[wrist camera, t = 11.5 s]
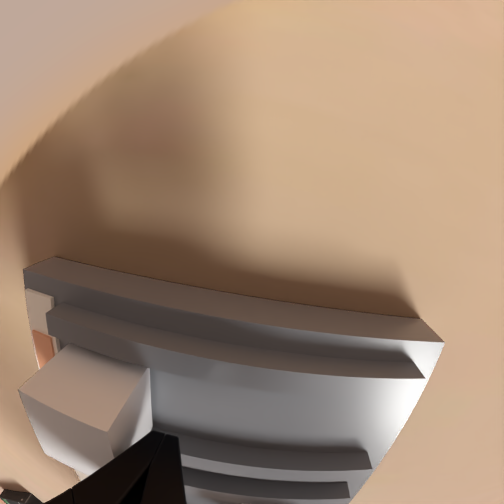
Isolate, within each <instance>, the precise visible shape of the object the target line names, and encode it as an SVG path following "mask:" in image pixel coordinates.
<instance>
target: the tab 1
mask: <svg viewBox="0 0 504 504" xmlns="http://www.w3.org/2000/svg"><path fill="white" fill-rule="evenodd" d="M18 392H19V394H20V397H21V400H22V403H23V405H24V408H25V410H26V413H27V415H28V418H29V420H30V423H31V425H32V427H33V430H34V432H35V434H36V436H37V438H38V441H39V443H40V445H41V447H42V449H43V451H44V453H45V454H46V455H48V456H50V457H52V458H54V459H56V460H58V461H59V462H61V463H63V464H65V465H67V466H69V467H71V468H73V469H75V470H78V471H80V472H82V473H84V474H86V475H91V474H92V473H94V472H95V471H97V470H98V469H100V468H101V467H103V466H104V465H105V464H107V463H108V462H110V461H111V460H113V459H114V458H115V457H117V456H118V455H120V454H121V453H122V452H124V451H125V450H126V449H128V448H129V447H130V446H132V445H133V444H135V443H136V442H137V441H139V440H140V439H141V438H143V437H144V436H145V435H146V434H148V433H149V432H150V431H151V429H152V426H153V424H152V409H151V390H150V368H147V367H143V366H139V365H136V364H132V363H129V362H125V361H122V360H119V359H115V358H112V357H109V356H106V355H103V354H100V353H97V352H94V351H91V350H88V349H85V348H82V347H80V346H77V345H74V344H71V343H69V344H68V345H66V346H65V347H64V348H63V349H62V350H61V351H60V352H58V353H57V354H56V355H55V356H54V357H53V358H52V359H51V360H49V361H48V362H47V363H46V364H45V365H44V366H43V367H42V368H41V369H39V370H38V371H37V372H36V373H35V374H34V375H33V376H32V377H31V378H30V379H28V380H27V381H26V382H25V383H24V384H23V385H22V386H21V387H20V388H19V389H18Z"/></svg>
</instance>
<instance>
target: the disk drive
mask: <svg viewBox="0 0 504 504" xmlns="http://www.w3.org/2000/svg"><path fill="white" fill-rule="evenodd" d="M0 498H1V499H2V500H3V501H4V502H5V503H6V504H43V503H42V502H41V501H40V500H39V499H37V498H36V497H35V496H34V495H33V494H31V493H27V492H17V491H11V490H5V489H4V491H3V492H2V493H1V495H0Z"/></svg>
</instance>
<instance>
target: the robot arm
mask: <svg viewBox="0 0 504 504" xmlns="http://www.w3.org/2000/svg"><path fill="white" fill-rule="evenodd" d="M43 504H187V501H186V494H185V486H184V478H183V470H182V460H181V450H180V440H179V437H178V436H176V435H172V434H168V433H167V434H166V433H164V432H161V431H157V430H152V431H150V432H149V433H148V434H146V435H145V436H144V437H143V438H141V439H140V440H139V441H137V442H136V443H135V444H133V445H132V446H130V447H129V448H128V449H126V450H125V451H124V452H122V453H121V454H120V455H118V456H117V457H115V458H114V459H113V460H111V461H110V462H108V463H107V464H105V465H104V466H103V467H101V468H100V469H98V470H97V471H95V472H94V473H92V474H91V475H89V476H88V477H86V478H85V479H83V480H82V481H80V482H79V483H77V484H76V485H74V486H73V487H72V489H71V488H69V489H68V490H66V491H65V492H63V493H62V494H60V495H58V496H56V497H55V498H53V499H51V500H49V501H47V502H45V503H43Z"/></svg>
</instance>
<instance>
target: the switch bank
mask: <svg viewBox="0 0 504 504" xmlns="http://www.w3.org/2000/svg"><path fill="white" fill-rule="evenodd" d="M23 273H24V284H25V296H26V304H27V311H28V318H29V324H30V330H31V335H32V340H33V345H34V350H35V354H36V359H37V363H38V367H39V369H41V368H42V367H43V366H44V365H45V364H46V363H47V362H48V361H49V360H51V359H52V358H53V357H54V356H55V355H56V354H57V353H58V352H60V351H61V350H62V349H63V348H64V347H65V346H66V345H68V344H69V343H71V344H74V345H77V346H80V347H82V348H85V349H88V350H91V351H94V352H97V353H100V354H103V355H106V356H109V357H112V358H115V359H119V360H122V361H125V362H129V363H132V364H136V365H139V366H143V367H147V368H150V390H151V409H152V424H153V426H152V429H151V431H152V430H157V431H161V432H164V433H166V434H167V433H168V434H172V435H176V436H178V437H179V440H180V450H181V460H182V470H183V478H184V486H185V494H186V501H187V504H242V503H244V504H349V502H350V501H351V500H352V499H353V498H354V496H355V495H356V494H357V493H358V491H359V490H360V489H361V488H362V486H363V485H364V484H365V482H366V481H367V480H368V478H369V477H370V476H371V474H372V473H373V472H374V470H375V469H376V468H377V466H378V465H379V463H380V462H381V460H382V459H383V457H384V456H385V455H386V453H387V452H388V450H389V449H390V447H391V445H392V444H393V442H394V441H395V439H396V438H397V436H398V434H399V433H400V431H401V429H402V428H403V426H404V424H405V423H406V421H407V419H408V418H409V416H410V414H411V412H412V410H413V409H414V407H415V405H416V403H417V401H418V399H419V397H420V396H421V394H422V392H423V390H424V388H425V386H426V384H427V382H428V380H429V377H430V375H431V373H432V371H433V369H434V367H435V365H436V362H437V360H438V358H439V355H440V353H441V351H442V348H443V346H444V344H445V342H444V341H443V340H442V339H441V338H440V337H439V336H438V335H437V334H436V333H435V332H434V331H433V330H432V329H431V328H430V327H429V326H428V325H427V324H426V323H425V322H424V321H423V320H422V319H418V318H408V317H398V316H389V315H380V314H371V313H363V312H355V311H347V310H339V309H331V308H324V307H317V306H310V305H303V304H296V303H289V302H282V301H276V300H269V299H263V298H257V297H251V296H245V295H239V294H233V293H227V292H221V291H216V290H210V289H204V288H199V287H194V286H188V285H183V284H178V283H172V282H167V281H162V280H157V279H152V278H147V277H142V276H138V275H133V274H128V273H123V272H119V271H114V270H109V269H105V268H100V267H96V266H92V265H87V264H83V263H79V262H74V261H70V260H66V259H62V258H58V257H52V258H49V259H47V260H44V261H42V262H39V263H37V264H34V265H32V266H30V267H27V268H25V269H23ZM75 471H76V473H77V475H78V477H79V479H80V481H82V480H83V479H85V478H86V477H88V476H89V475H86V474H84V473H82V472H80V471H78V470H75Z"/></svg>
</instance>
